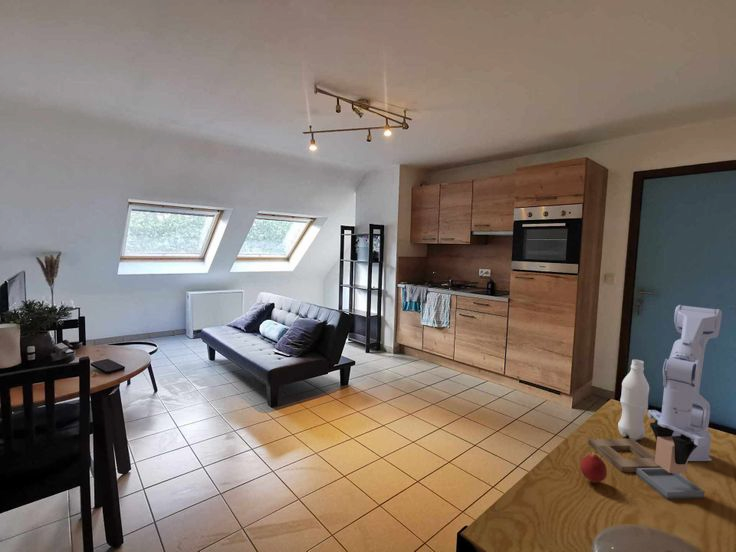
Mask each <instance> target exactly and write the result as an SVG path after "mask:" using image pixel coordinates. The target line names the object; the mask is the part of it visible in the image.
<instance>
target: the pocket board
mask: <svg viewBox="0 0 736 552" xmlns="http://www.w3.org/2000/svg"><path fill="white" fill-rule="evenodd" d="M587 444H588V445H589V446H590V447H591V448H593V450H595V451H596V452H597V453H598V454H599V455H601V456H602V457H603V458H604V459H606V461H607V462H609V463H610V464H612V465H613V466H614V467H615V468H616V469H617V470H619V471H620V472H621V473H628V472H630V473H634V472H636V470H637V468H662V467H660V466H659V465H658V464H656V463H655V454H654V453H653V452H652V451H650V450H648V449H647V448H646V447H644V446H643V445H642V444H640V443H639V442H637V440H633V439H630V438H588V441H587ZM617 451H629V452H631V453H632V454H633V455H634V456H636V457H637V458H634V457H633V458H632V457H629V458H625V457H624V456H622V455H621V454H620V453H619V452H617Z"/></svg>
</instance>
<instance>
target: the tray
mask: <svg viewBox="0 0 736 552" xmlns="http://www.w3.org/2000/svg"><path fill="white" fill-rule="evenodd" d="M635 475H636V476H637V477H638V478H640V479H642V481H643V482H645V483H646V484H647V485H649V486H650V488H652V489H653V490H654V491H656V492H657V493H658V494H659V495H661V496H662V497H663V498H664V499H666V500H685V499H686V500H689V499H690V500H691V499H692V500H693V499H694V500H695V499H696V500H697V499H705V494H706V493H705V491H704V489H702V488H700V487H699V486H698V485H696V484H695V483H693V482H692V481H690V480H689V479H687V478H686V477H685V476H683V475H682V474H681V473H669V472H667V471H666V470H665V469H663V468H637V470H636V473H635Z"/></svg>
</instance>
